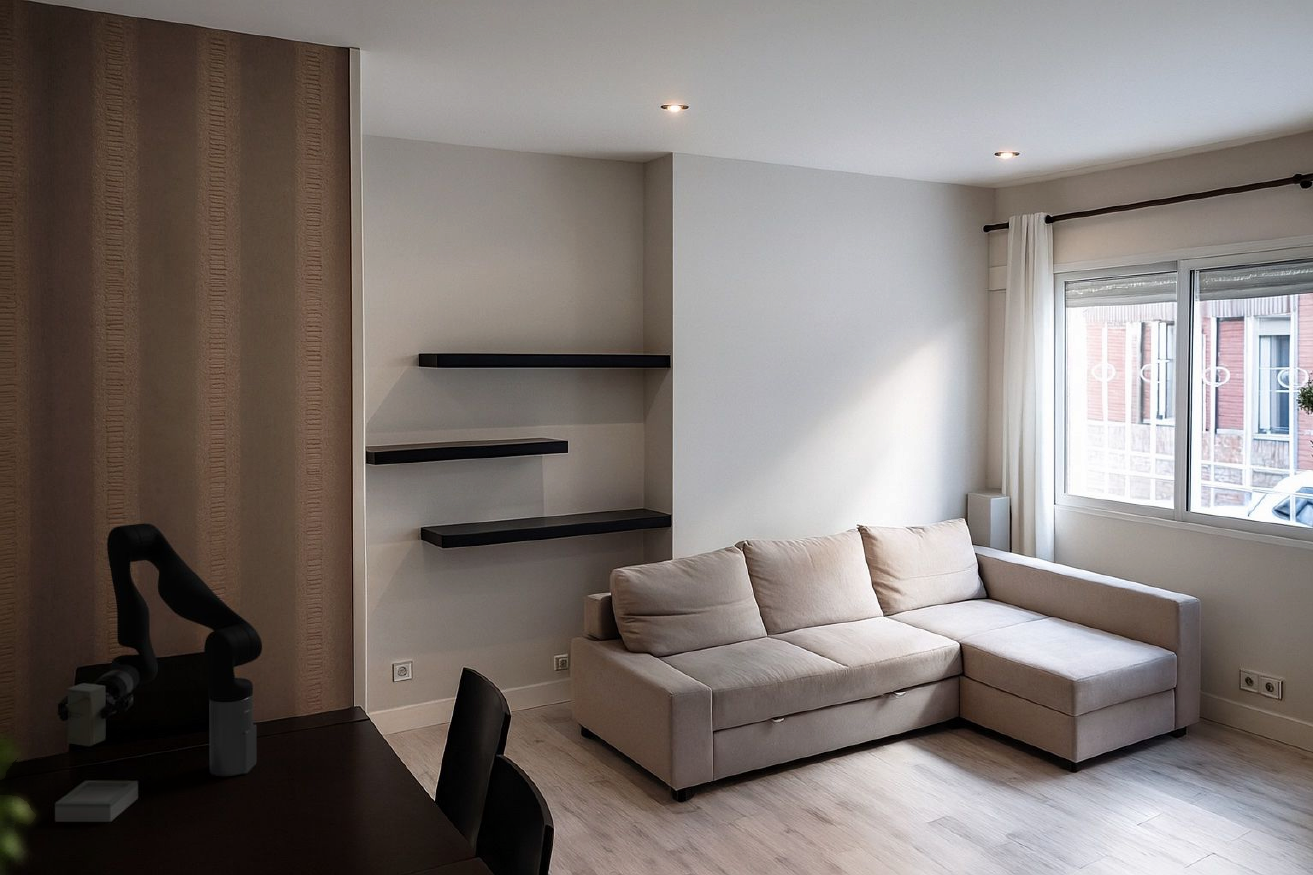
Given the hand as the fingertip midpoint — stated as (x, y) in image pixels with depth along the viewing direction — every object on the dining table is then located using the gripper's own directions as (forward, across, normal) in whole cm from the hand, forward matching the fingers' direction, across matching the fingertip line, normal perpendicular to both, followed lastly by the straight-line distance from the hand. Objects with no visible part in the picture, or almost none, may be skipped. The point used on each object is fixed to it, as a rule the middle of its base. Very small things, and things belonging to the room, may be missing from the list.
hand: (83, 715), depth 203 cm
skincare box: (-2, 0, +7) cm, 7 cm away
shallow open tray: (+8, +5, +18) cm, 20 cm away
